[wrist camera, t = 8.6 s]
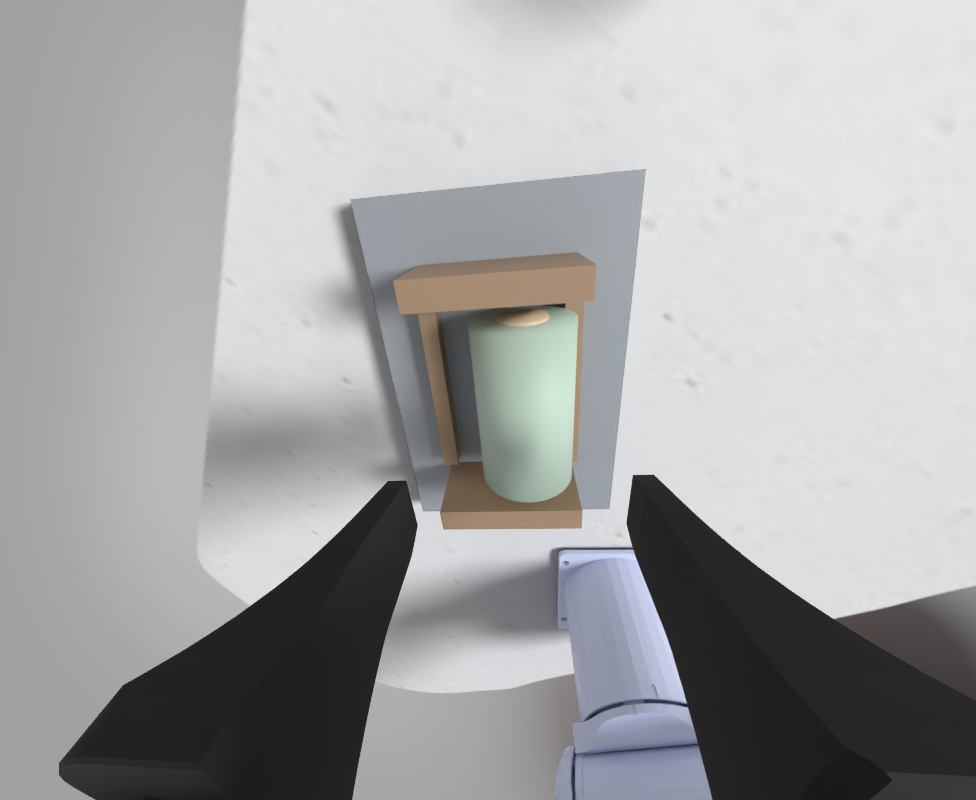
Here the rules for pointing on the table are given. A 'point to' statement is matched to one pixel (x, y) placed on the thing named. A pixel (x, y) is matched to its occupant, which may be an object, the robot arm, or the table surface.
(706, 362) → the table surface
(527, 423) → the roll
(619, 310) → the holder
